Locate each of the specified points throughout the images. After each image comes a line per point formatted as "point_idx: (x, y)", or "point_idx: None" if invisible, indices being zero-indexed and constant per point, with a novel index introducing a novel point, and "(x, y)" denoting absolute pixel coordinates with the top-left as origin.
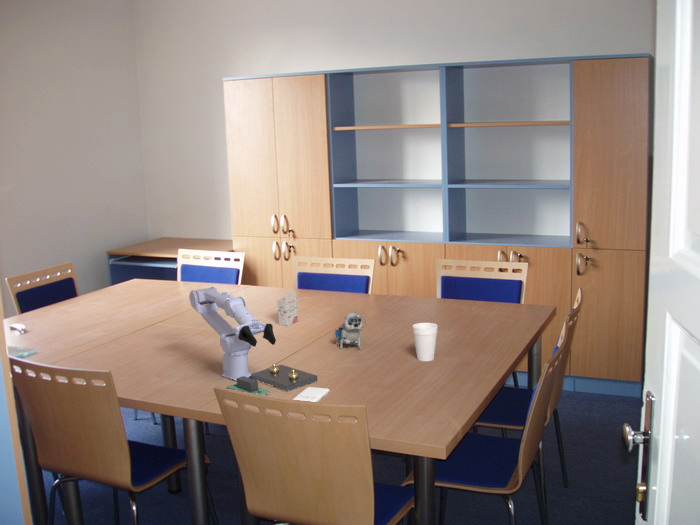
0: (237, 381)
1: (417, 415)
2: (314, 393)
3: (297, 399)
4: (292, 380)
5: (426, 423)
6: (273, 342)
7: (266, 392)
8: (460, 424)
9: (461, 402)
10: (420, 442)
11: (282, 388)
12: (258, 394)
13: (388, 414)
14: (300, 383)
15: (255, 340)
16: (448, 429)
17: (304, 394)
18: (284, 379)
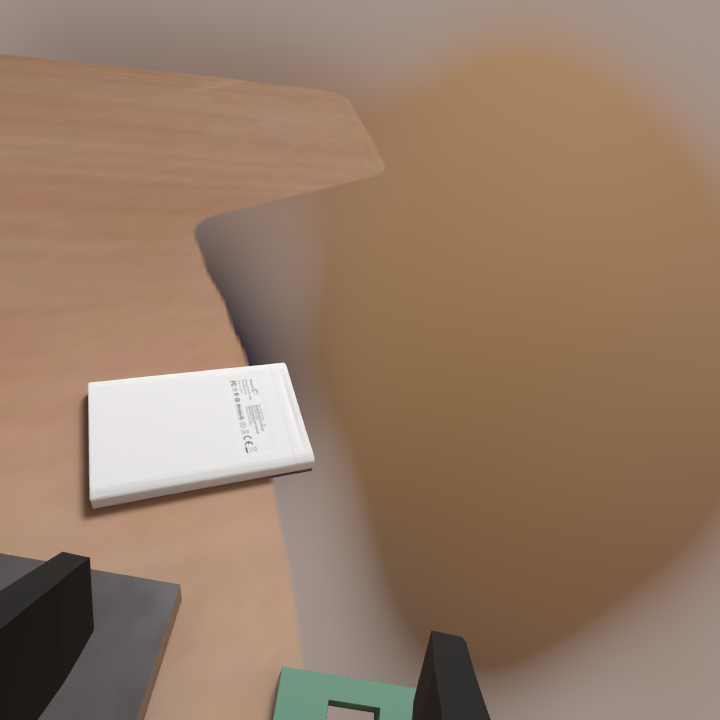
0: None
1: (210, 132)
2: (186, 409)
3: (299, 437)
4: None
5: (251, 116)
6: (90, 599)
7: (310, 672)
8: (220, 78)
9: (63, 80)
10: (354, 115)
11: (163, 648)
12: (379, 685)
13: (240, 175)
14: None
15: (455, 650)
16: (260, 90)
17: (221, 444)
18: None
